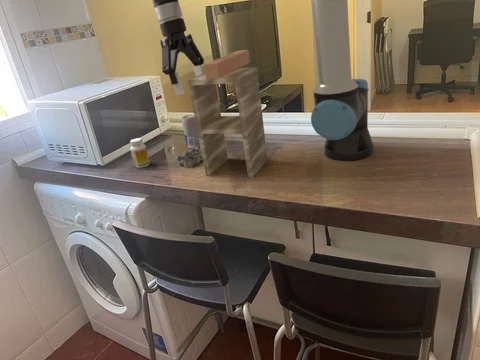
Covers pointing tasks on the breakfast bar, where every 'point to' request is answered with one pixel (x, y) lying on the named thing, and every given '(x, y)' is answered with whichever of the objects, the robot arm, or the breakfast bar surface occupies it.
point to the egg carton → (189, 157)
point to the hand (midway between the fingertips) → (192, 90)
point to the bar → (226, 64)
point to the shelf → (229, 119)
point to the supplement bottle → (139, 153)
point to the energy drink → (190, 131)
